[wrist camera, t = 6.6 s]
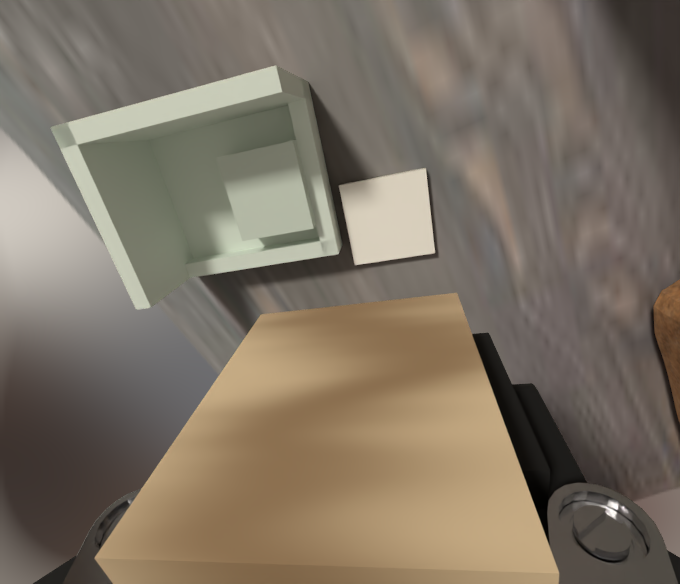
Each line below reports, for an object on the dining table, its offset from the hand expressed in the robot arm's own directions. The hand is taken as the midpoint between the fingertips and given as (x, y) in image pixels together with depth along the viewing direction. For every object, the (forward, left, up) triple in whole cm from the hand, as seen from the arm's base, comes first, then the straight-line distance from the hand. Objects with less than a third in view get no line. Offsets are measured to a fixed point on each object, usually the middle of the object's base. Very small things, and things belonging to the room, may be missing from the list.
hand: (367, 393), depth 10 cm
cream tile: (0, 0, -21) cm, 21 cm away
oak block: (0, 0, 0) cm, 0 cm away
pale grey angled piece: (+11, -4, -21) cm, 24 cm away
